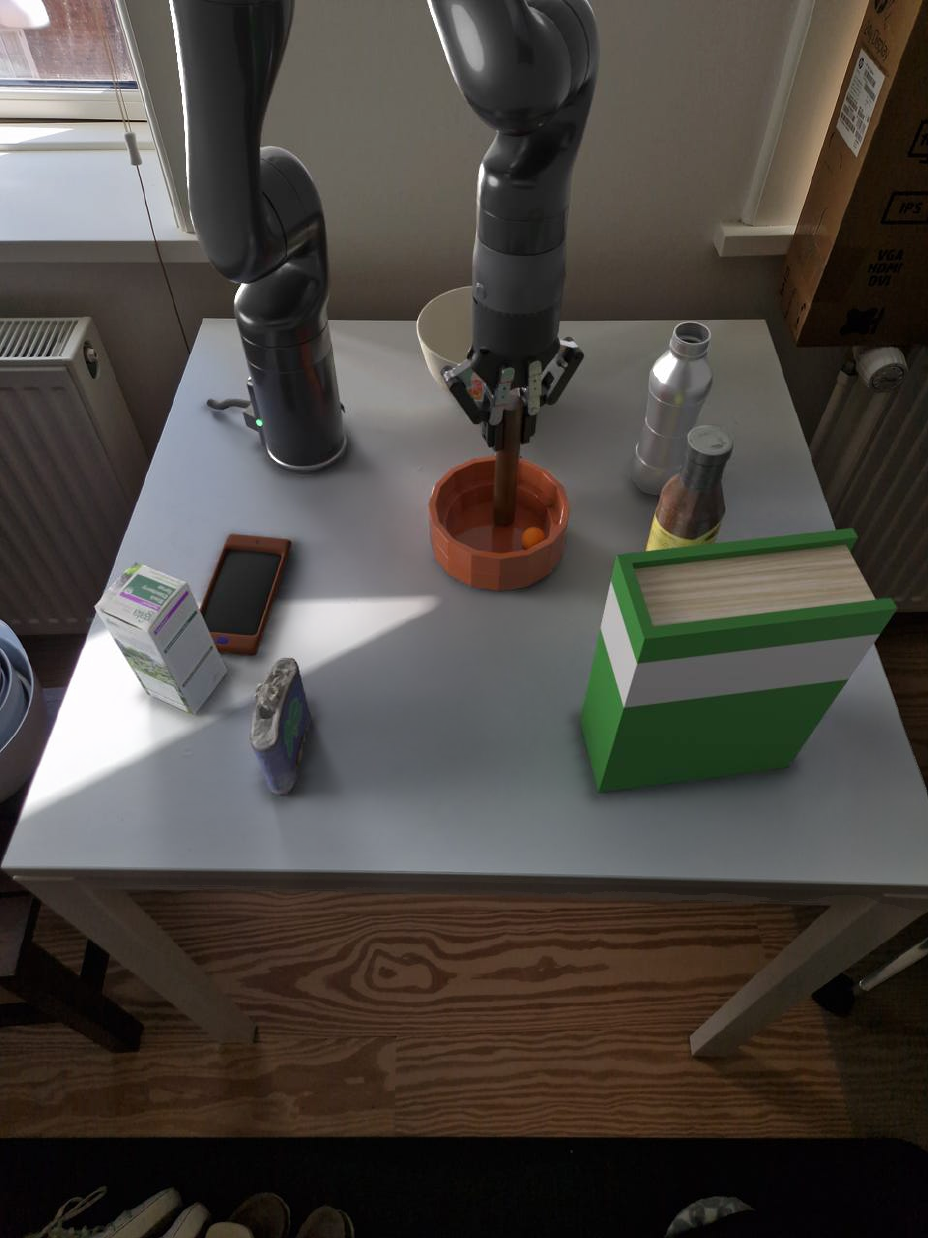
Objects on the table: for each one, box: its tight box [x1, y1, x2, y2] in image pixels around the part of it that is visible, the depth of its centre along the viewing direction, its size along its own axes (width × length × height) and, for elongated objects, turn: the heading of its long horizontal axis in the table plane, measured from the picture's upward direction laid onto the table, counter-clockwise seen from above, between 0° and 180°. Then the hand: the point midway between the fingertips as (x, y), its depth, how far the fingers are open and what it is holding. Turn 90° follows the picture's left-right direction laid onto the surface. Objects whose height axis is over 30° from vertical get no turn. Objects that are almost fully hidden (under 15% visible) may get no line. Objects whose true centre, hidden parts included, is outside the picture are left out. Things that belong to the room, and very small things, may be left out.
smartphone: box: [199, 533, 292, 657], centre depth 88 cm, size 7×1×15 cm
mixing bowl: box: [428, 455, 571, 592], centre depth 91 cm, size 14×14×6 cm
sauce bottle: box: [645, 425, 734, 551], centre depth 81 cm, size 6×6×20 cm
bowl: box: [416, 285, 518, 401], centre depth 104 cm, size 16×16×10 cm
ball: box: [521, 527, 546, 550], centre depth 90 cm, size 3×3×3 cm
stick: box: [493, 394, 524, 526], centre depth 86 cm, size 2×2×16 cm
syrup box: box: [94, 561, 227, 716], centre depth 77 cm, size 6×6×14 cm
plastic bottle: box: [629, 321, 714, 496], centre depth 90 cm, size 6×7×20 cm
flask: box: [249, 657, 312, 796], centre depth 74 cm, size 9×3×11 cm, turn 173°
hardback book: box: [579, 527, 898, 794], centre depth 69 cm, size 18×7×24 cm, turn 98°
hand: (507, 441), depth 84 cm, fingers closed on stick, 2 cm apart
